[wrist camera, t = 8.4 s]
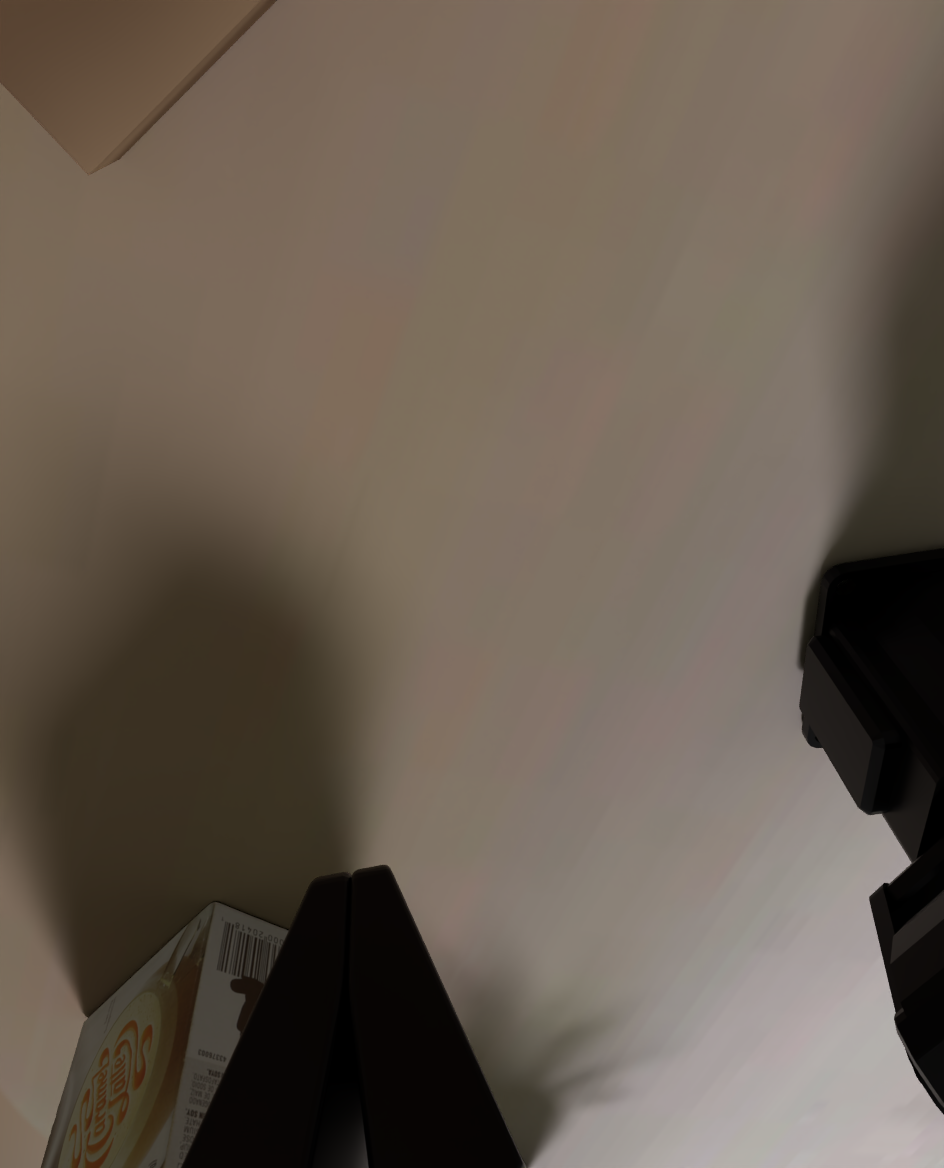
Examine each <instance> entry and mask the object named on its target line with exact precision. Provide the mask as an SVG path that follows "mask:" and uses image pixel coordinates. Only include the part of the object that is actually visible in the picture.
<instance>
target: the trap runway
mask: <svg viewBox="0 0 944 1168" xmlns="http://www.w3.org/2000/svg"><path fill="white" fill-rule="evenodd" d="M276 1H277V0H0V82H1V84H2V85H3V86H4V87H5V88H6V89H7V90H8V91H9V92H10V93H11V94H12V95H13V96H14V97H15V98H16V99H17V100H18V101H19V103H20V104H21V105H22V106H23V107H24V108H25V109H26V110H27V111H28V112H29V113H30V114H31V115H32V116H33V117H34V118H35V119H36V120H37V121H38V123H39V124H40V125H41V126H42V127H43V128H44V129H45V130H46V131H47V132H48V133H49V134H50V135H51V136H52V137H53V138H54V139H55V140H56V142H57V143H58V144H59V145H60V146H61V147H62V148H63V149H64V150H65V151H66V152H67V153H68V154H69V155H70V156H71V157H72V158H73V159H74V161H75V162H76V163H77V164H78V165H79V166H80V167H81V168H82V169H83V170H84V171H85V172H86V173H87V174H88V175H90V174H92V173H94V172H96V171H98V170H100V169H101V168H103V167H105V166H107V165H109V164H111V163H113V162H115V161H117V160H119V159H120V158H121V157H122V156H123V155H124V154H125V153H126V152H127V151H128V150H129V149H130V148H131V147H132V146H133V145H134V144H135V143H136V142H137V141H138V140H139V139H140V138H141V137H142V136H143V135H144V134H145V133H146V132H147V131H148V130H149V129H150V128H151V127H152V126H153V125H154V124H155V123H156V122H157V121H158V120H159V119H160V118H161V117H162V116H163V115H164V114H165V113H166V112H167V111H168V110H169V109H170V108H171V107H172V106H173V105H174V104H175V103H176V102H177V101H178V100H179V99H180V98H181V97H182V96H183V95H184V94H185V93H186V92H187V91H188V90H189V89H190V88H191V87H192V85H193V84H194V83H195V82H196V81H197V80H198V79H199V78H200V77H201V76H202V75H203V74H204V73H205V72H206V71H207V70H208V69H209V68H210V67H211V66H212V65H213V64H214V63H215V62H216V61H217V60H218V59H219V58H220V57H221V56H222V55H223V54H224V53H225V52H226V51H227V50H228V49H229V48H230V47H231V46H232V45H233V44H234V43H235V42H236V41H237V40H238V39H239V38H240V37H241V36H242V35H243V34H244V33H245V32H246V31H247V30H248V29H249V28H250V27H251V26H252V25H253V24H254V23H255V22H256V21H257V20H258V19H259V18H260V17H261V16H262V15H263V14H264V13H265V12H266V11H267V10H268V9H269V8H270V7H271V6H272V5H273V4H274V3H275V2H276Z"/></svg>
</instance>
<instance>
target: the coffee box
mask: <svg viewBox="0 0 944 1168" xmlns="http://www.w3.org/2000/svg"><path fill="white" fill-rule="evenodd" d="M287 933H288V930H286V929H283V928H280V927H278V926H275V925H273V924H270V923H268V922H265V921H263V920H261V919H258V918H255V917H253V916H250V915H248V914H245V913H243V912H240V911H238V910H235V909H233V908H231V907H228V906H226V905H223V904H221V903H217V902H213V903H211V904H209V905H208V906H207V907H206V908H205V909H204V910H202V911H201V912H200V913H199V914H198V915H197V916H196V917H195V918H194V919H193V920H192V921H191V922H190V923H189V924H188V925H186V926H185V927H184V928H183V929H182V930H181V931H180V932H179V933H178V934H177V935H176V936H175V937H174V938H173V939H172V940H170V941H169V942H168V943H167V944H166V945H165V946H164V947H163V948H162V949H161V950H160V951H159V952H158V953H157V954H156V955H155V956H154V957H152V958H151V959H150V960H149V961H148V962H147V963H146V964H145V965H144V966H143V967H142V968H141V969H140V970H139V971H137V972H136V973H135V974H134V975H133V976H132V977H131V978H130V979H129V980H128V981H127V982H126V983H125V984H124V985H123V986H122V987H121V988H119V989H118V990H117V991H116V992H115V993H114V994H113V995H112V996H111V997H110V998H109V999H108V1000H107V1001H106V1002H105V1003H104V1004H103V1005H101V1006H100V1007H99V1008H98V1009H97V1010H96V1011H95V1012H94V1013H93V1014H92V1015H91V1016H90V1017H89V1018H88V1019H87V1020H86V1021H85V1022H84V1024H83V1027H82V1030H81V1033H80V1037H79V1040H78V1044H77V1047H76V1051H75V1054H74V1057H73V1061H72V1064H71V1068H70V1071H69V1075H68V1078H67V1081H66V1084H65V1087H64V1091H63V1094H62V1097H61V1101H60V1104H59V1107H58V1110H57V1114H56V1118H55V1121H54V1124H53V1127H52V1130H51V1134H50V1137H49V1140H48V1145H47V1148H46V1151H45V1155H44V1158H43V1162H42V1165H41V1168H181V1166H182V1164H183V1161H184V1159H185V1157H186V1155H187V1153H188V1150H189V1148H190V1146H191V1144H192V1142H193V1139H194V1137H195V1135H196V1133H197V1131H198V1128H199V1126H200V1124H201V1122H202V1120H203V1117H204V1115H205V1113H206V1111H207V1109H208V1106H209V1104H210V1102H211V1100H212V1098H213V1095H214V1093H215V1091H216V1089H217V1087H218V1085H219V1082H220V1080H221V1078H222V1076H223V1074H224V1071H225V1069H226V1067H227V1065H228V1063H229V1060H230V1058H231V1056H232V1054H233V1052H234V1049H235V1047H236V1045H237V1043H238V1041H239V1038H240V1036H241V1034H242V1032H243V1030H244V1027H245V1025H246V1023H247V1021H248V1019H249V1016H250V1014H251V1012H252V1010H253V1008H254V1006H255V1003H256V1001H257V999H258V997H259V995H260V992H261V990H262V988H263V986H264V984H265V981H266V979H267V977H268V975H269V973H270V970H271V968H272V966H273V964H274V962H275V959H276V957H277V955H278V953H279V951H280V948H281V946H282V944H283V942H284V940H285V937H286V935H287Z"/></svg>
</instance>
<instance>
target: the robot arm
mask: <svg viewBox="0 0 944 1168" xmlns="http://www.w3.org/2000/svg"><path fill="white" fill-rule="evenodd" d="M847 579H848V581H847V583H845V584H844V585H843V586H840V587H838V585H839V584H840V583H841V582H842V581H844V580H847ZM799 707H800V710H801V712H802V713H803V715H804V717H803V724H802V734H803V735H804V737H805V739H806V741H807V742H808V744H809V745H810V746H812V747H815V748H823V749H824V751H825V752H826V754H827V756H828V757H829V759H830V761H831V762H832V764H833V766H834V768H835V769H836V771H837V773H838V774H839V776H840V778H841V779H842V781H843V783H844V784H845V786H846V788H847V790H848V791H849V793H850V795H851V796H852V798H853V800H854V801H855V803H856V805H857V807H858V808H859V809H861V810H862V811H863V812H865V813H866V814H867V815H875V814H882V815H883V817H884V818H885V820H886V822H887V823H888V825H889V827H890V828H891V830H892V831H893V833H894V835H895V836H896V838H897V840H898V841H899V843H900V844H901V846H902V848H903V849H904V851H905V853H906V854H907V856H908V857H909V859H910V861H911V862H912V864H911V865H909V866H908V867H907V868H906V869H905V870H904V871H903V872H902V873H901V874H900V875H899V876H897V877H896V878H895V879H894V880H893V881H892V882H891V883H890V884H889V883H884V884H883V885H882V886H881V887H879V888H878V889H877V890H876V891H875V892H874V893H873V894H872V895H871V896H870V897H869V901H870V905H871V909H872V913H873V918H874V922H875V926H876V930H877V935H878V939H879V943H880V948H881V952H882V956H883V960H884V965H885V969H886V973H887V977H888V982H889V986H890V990H891V994H892V999H893V1003H894V1007H895V1012H896V1013H895V1017H894V1020H895V1025H896V1030H897V1034H898V1035H899V1037H900V1039H901V1041H902V1043H903V1045H904V1047H905V1050H906V1053H907V1056H908V1058H909V1060H910V1062H911V1064H912V1066H913V1069H914V1072H915V1074H916V1076H917V1078H918V1080H919V1081H920V1082H921V1084H922V1085H923V1086H924V1088H925V1090H926V1091H927V1093H928V1094H929V1096H930V1097H931V1099H932V1100H933V1102H934V1103H935V1104H936V1106H937V1107H938V1108H939V1109H940V1111H941V1112H942V1113H943V1114H944V548H943V549H937V550H930V551H923V552H917V553H910V554H903V555H897V556H890V557H883V558H877V559H870V560H863V561H857V562H850V563H843V564H839V565H836V566H834V567H832V568H831V569H829V570H828V571H827V572H826V573H825V574H824V576H823V578H822V581H821V587H820V595H819V602H818V610H817V617H816V625H815V633H814V637H812V638H811V640H810V641H809V643H808V644H807V649H806V657H805V665H804V673H803V681H802V689H801V697H800V704H799ZM181 1168H525V1167H524V1163H523V1160H522V1158H521V1156H520V1153H519V1151H518V1149H517V1147H516V1145H515V1142H514V1140H513V1138H512V1136H511V1133H510V1131H509V1129H508V1127H507V1125H506V1122H505V1120H504V1118H503V1116H502V1114H501V1111H500V1109H499V1107H498V1105H497V1103H496V1100H495V1098H494V1096H493V1094H492V1091H491V1089H490V1087H489V1085H488V1083H487V1080H486V1078H485V1076H484V1074H483V1072H482V1069H481V1067H480V1065H479V1063H478V1060H477V1058H476V1056H475V1054H474V1052H473V1049H472V1047H471V1045H470V1043H469V1041H468V1038H467V1036H466V1034H465V1032H464V1030H463V1027H462V1025H461V1023H460V1021H459V1018H458V1016H457V1014H456V1012H455V1010H454V1007H453V1005H452V1003H451V1001H450V999H449V996H448V994H447V992H446V990H445V988H444V985H443V983H442V981H441V979H440V976H439V974H438V972H437V970H436V968H435V965H434V963H433V961H432V959H431V957H430V954H429V952H428V950H427V948H426V945H425V943H424V941H423V939H422V937H421V934H420V932H419V930H418V928H417V926H416V923H415V921H414V919H413V917H412V915H411V912H410V910H409V908H408V906H407V903H406V901H405V899H404V897H403V895H402V892H401V890H400V888H399V886H398V884H397V881H396V879H395V877H394V875H393V873H392V871H391V869H390V867H389V866H387V865H379V866H374V867H369V868H363V869H358V870H356V871H355V872H354V873H353V875H352V876H351V874H350V873H348V872H342V873H337V874H331V875H326V876H321V877H317V878H315V879H314V880H313V881H312V882H311V884H310V885H309V887H308V889H307V891H306V894H305V896H304V898H303V900H302V902H301V905H300V907H299V909H298V911H297V913H296V916H295V918H294V920H293V922H292V924H291V927H290V929H289V931H288V933H287V935H286V937H285V940H284V942H283V944H282V946H281V948H280V951H279V953H278V955H277V957H276V959H275V962H274V964H273V966H272V968H271V970H270V973H269V975H268V977H267V979H266V981H265V984H264V986H263V988H262V990H261V992H260V995H259V997H258V999H257V1001H256V1003H255V1006H254V1008H253V1010H252V1012H251V1014H250V1016H249V1019H248V1021H247V1023H246V1025H245V1027H244V1030H243V1032H242V1034H241V1036H240V1038H239V1041H238V1043H237V1045H236V1047H235V1049H234V1052H233V1054H232V1056H231V1058H230V1060H229V1063H228V1065H227V1067H226V1069H225V1071H224V1074H223V1076H222V1078H221V1080H220V1082H219V1085H218V1087H217V1089H216V1091H215V1093H214V1095H213V1098H212V1100H211V1102H210V1104H209V1106H208V1109H207V1111H206V1113H205V1115H204V1117H203V1120H202V1122H201V1124H200V1126H199V1128H198V1131H197V1133H196V1135H195V1137H194V1139H193V1142H192V1144H191V1146H190V1148H189V1150H188V1153H187V1155H186V1157H185V1159H184V1161H183V1164H182V1166H181Z"/></svg>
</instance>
